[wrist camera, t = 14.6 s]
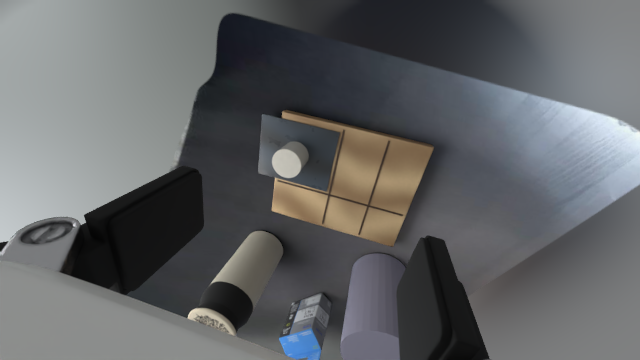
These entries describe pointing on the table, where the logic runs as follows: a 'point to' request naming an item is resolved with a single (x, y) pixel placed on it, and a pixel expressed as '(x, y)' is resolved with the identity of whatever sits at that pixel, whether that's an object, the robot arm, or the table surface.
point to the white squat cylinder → (290, 159)
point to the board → (344, 175)
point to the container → (372, 309)
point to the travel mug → (239, 284)
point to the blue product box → (306, 327)
